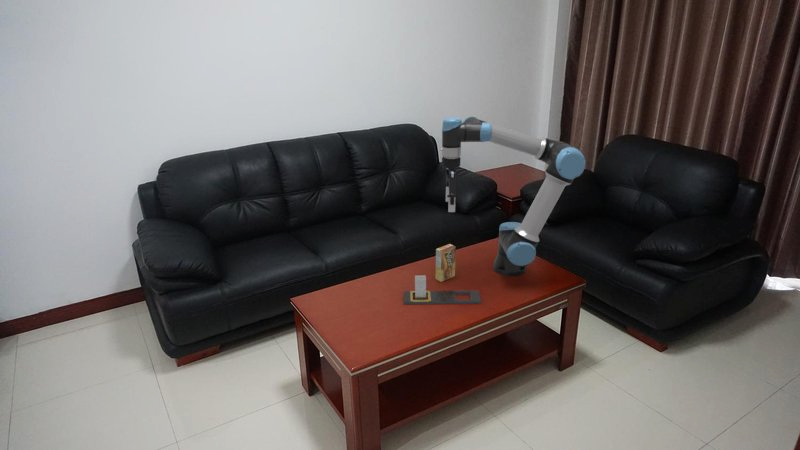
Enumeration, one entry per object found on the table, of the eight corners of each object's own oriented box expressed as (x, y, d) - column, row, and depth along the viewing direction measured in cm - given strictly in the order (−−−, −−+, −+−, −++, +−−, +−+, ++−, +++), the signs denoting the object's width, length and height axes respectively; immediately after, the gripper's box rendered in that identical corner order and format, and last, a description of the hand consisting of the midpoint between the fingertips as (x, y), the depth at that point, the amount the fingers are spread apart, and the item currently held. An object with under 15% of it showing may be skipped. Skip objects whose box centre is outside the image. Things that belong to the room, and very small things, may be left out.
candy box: (448, 273, 230) (449, 243, 225) (455, 276, 227) (456, 246, 222) (435, 279, 225) (435, 248, 220) (441, 282, 222) (442, 251, 216)
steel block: (425, 296, 211) (425, 275, 207) (426, 301, 206) (426, 280, 203) (415, 296, 211) (414, 275, 207) (415, 301, 206) (415, 280, 203)
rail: (478, 293, 212) (478, 290, 212) (481, 303, 204) (481, 300, 203) (403, 293, 213) (403, 290, 212) (403, 304, 204) (403, 301, 204)
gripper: (439, 150, 211) (439, 197, 219) (444, 164, 188) (443, 216, 196) (457, 149, 211) (456, 197, 219) (464, 164, 188) (462, 216, 196)
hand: (450, 206), depth 207 cm, fingers open, 13 cm apart
